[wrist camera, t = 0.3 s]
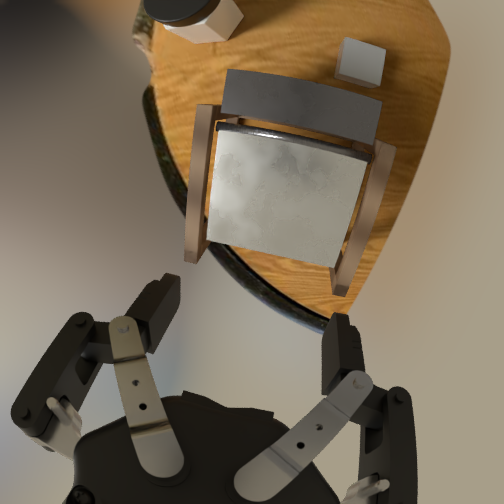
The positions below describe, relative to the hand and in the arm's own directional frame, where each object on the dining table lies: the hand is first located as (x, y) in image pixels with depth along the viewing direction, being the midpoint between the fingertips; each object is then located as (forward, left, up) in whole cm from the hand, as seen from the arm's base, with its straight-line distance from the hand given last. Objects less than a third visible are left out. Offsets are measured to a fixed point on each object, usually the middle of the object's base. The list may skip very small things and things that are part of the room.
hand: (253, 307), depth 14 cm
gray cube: (-18, +6, -28) cm, 33 cm away
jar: (-22, -14, -28) cm, 38 cm away
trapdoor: (-3, 0, -18) cm, 18 cm away
